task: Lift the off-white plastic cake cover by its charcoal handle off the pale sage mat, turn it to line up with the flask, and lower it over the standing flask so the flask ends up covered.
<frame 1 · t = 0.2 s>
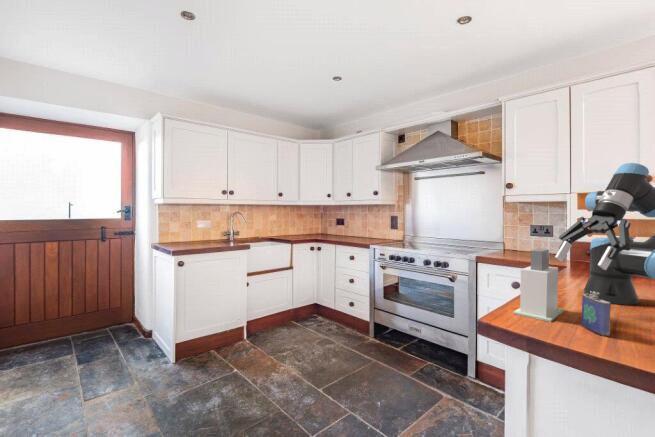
hand: (578, 263, 99), 16 cm above the counter, tool tilted 35°, fingers open, 13 cm apart
mat: (538, 312, 102), on the counter
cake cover: (538, 310, 102), point 1 cm above the counter, touching mat
flask: (594, 331, 86), on the counter
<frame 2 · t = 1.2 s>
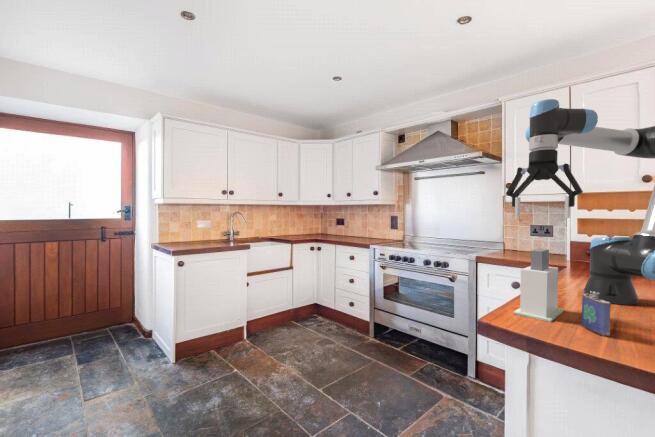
hand: (541, 217, 101), 31 cm above the counter, tool pointing down, fingers open, 13 cm apart
nothing on the counter moved.
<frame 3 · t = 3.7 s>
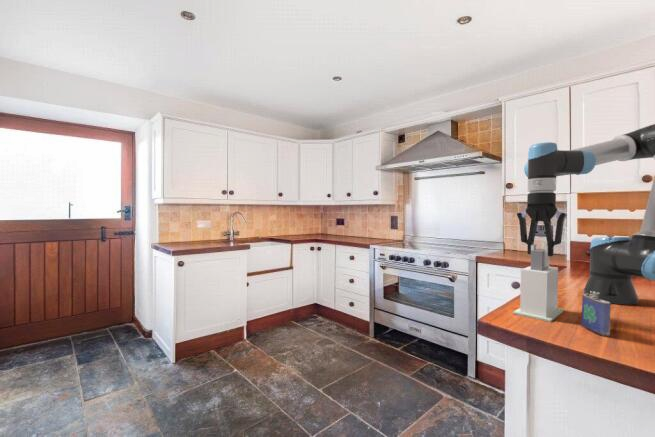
hand: (539, 265, 101), 15 cm above the counter, tool pointing down, fingers closed on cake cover, 3 cm apart
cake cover: (538, 310, 102), point 1 cm above the counter, touching gripper, mat
everything else where it was.
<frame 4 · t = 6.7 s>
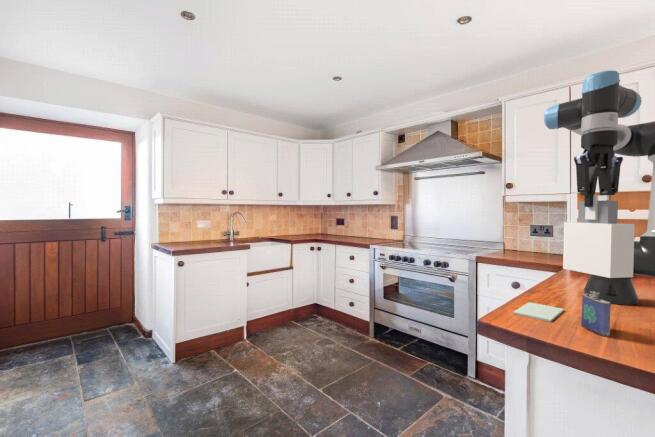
hand: (596, 219, 85), 30 cm above the counter, tool pointing down, fingers closed on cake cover, 3 cm apart
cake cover: (595, 272, 86), point 16 cm above the counter, touching gripper
everything else where it was.
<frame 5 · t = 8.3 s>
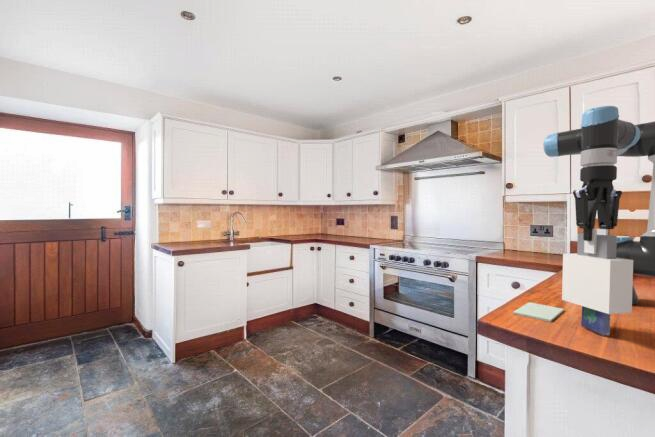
hand: (595, 252, 86), 21 cm above the counter, tool pointing down, fingers closed on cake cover, 3 cm apart
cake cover: (594, 305, 86), point 7 cm above the counter, touching gripper
everything else where it was.
when the fingers open (16 cm above the counter, at t = 9.9 s): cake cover drops 2 cm, on the counter.
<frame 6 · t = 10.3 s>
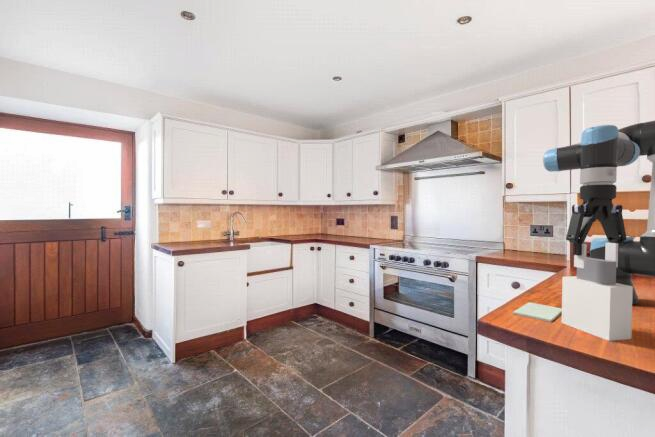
hand: (595, 267, 86), 17 cm above the counter, tool pointing down, fingers open, 9 cm apart
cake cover: (594, 330, 86), on the counter
everything else where it was.
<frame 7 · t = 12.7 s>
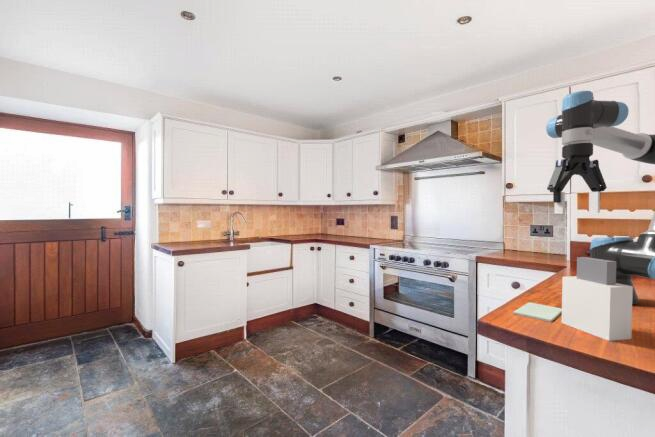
hand: (577, 213, 98), 32 cm above the counter, tool pointing down, fingers open, 13 cm apart
nothing on the counter moved.
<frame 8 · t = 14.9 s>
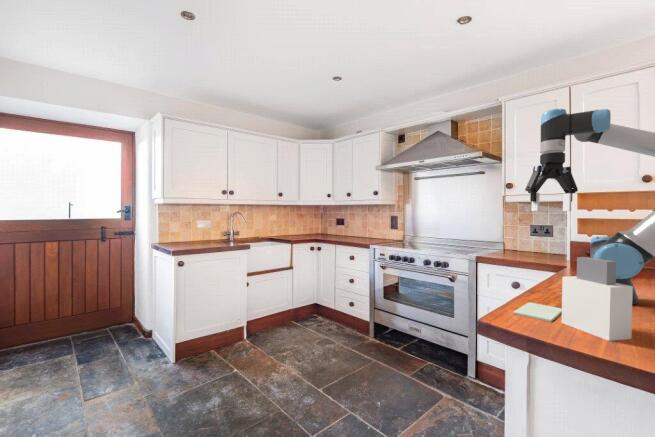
hand: (551, 211, 117), 33 cm above the counter, tool pointing down, fingers open, 13 cm apart
nothing on the counter moved.
at the end: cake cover 0.0 cm from the flask (horizontally); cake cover on the counter; flask tilted 0° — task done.
